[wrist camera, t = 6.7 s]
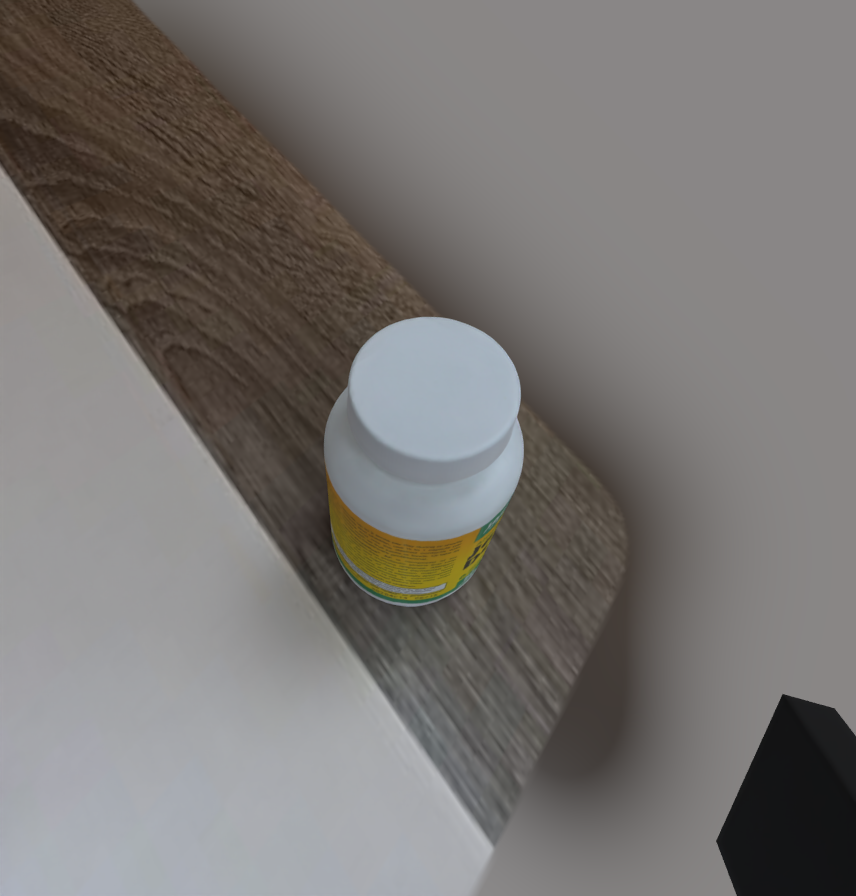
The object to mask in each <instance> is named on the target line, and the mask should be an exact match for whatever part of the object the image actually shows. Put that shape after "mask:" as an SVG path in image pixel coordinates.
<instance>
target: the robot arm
mask: <svg viewBox="0 0 856 896" xmlns="http://www.w3.org/2000/svg"><path fill="white" fill-rule="evenodd" d="M716 842H717V844H718V847H719V850H720V852H721V855H722V857H723V860H724V863H725V865H726V868H727V870H728V873H729V876H730V879H731V881H732V883H733V887H734V889H735V892H736V894H737V896H856V736H855V735H854V733H853V732H852V731H851V729H850V728H849V727H848V725H847V724H846V723H845V721H844V720H843V719H842V718H841V716H840V715H839V714H838V712H837V711H836V710H835V709H834V708H831V707H827V706H824V705H820V704H816V703H813V702H809V701H805V700H802V699H799V698H795V697H791V696H788V695H784V694H783V695H782V697H781V699H780V701H779V704H778V706H777V708H776V710H775V712H774V715H773V717H772V719H771V721H770V724H769V726H768V728H767V730H766V732H765V734H764V737H763V739H762V741H761V743H760V745H759V748H758V750H757V752H756V754H755V756H754V759H753V761H752V763H751V765H750V768H749V770H748V772H747V774H746V776H745V779H744V781H743V783H742V785H741V787H740V790H739V792H738V794H737V797H736V798H735V801H734V803H733V805H732V808H731V810H730V812H729V814H728V816H727V818H726V821H725V823H724V825H723V827H722V829H721V832H720V834H719V836H718V838H717V840H716Z"/></svg>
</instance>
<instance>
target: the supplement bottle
mask: <svg viewBox="0 0 856 896" xmlns="http://www.w3.org/2000/svg"><path fill="white" fill-rule="evenodd" d="M520 398H521V391H520V381H519V378H518V375H517V371H516V369H515V367H514V365H513V363H512V361H511V359H510V358H509V357H508V355H507V354H506V352H505V351H504V349H503V348H502V347H501V346H500V345H499V344H498V343H497V342H496V341H495V340H494V339H492V338H491V337H490V336H488V335H487V334H485V333H484V332H482V331H480V330H478V329H476V328H475V327H473V326H470V325H468V324H465V323H462V322H459V321H456V320H451V319H447V318H440V317H419V318H412V319H407V320H403V321H400V322H397V323H394V324H391V325H389V326H387V327H385V328H384V329H382V330H380V331H379V332H377V333H376V334H374V335H373V336H372V337H371V338H370V339H369V340H368V341H367V342H366V343H365V344H364V345H363V346H362V348H361V349H360V350H359V352H358V354H357V355H356V357H355V359H354V361H353V363H352V367H351V370H350V374H349V380H348V387H347V388H346V389H345V390H344V391H343V392H342V394H341V395H340V396H339V398H338V399H337V401H336V403H335V405H334V407H333V409H332V411H331V413H330V415H329V418H328V421H327V425H326V429H325V436H324V458H325V468H326V477H327V487H328V497H329V509H330V519H331V531H332V539H333V545H334V549H335V552H336V555H337V557H338V560H339V562H340V564H341V565H342V567H343V569H344V571H345V572H346V573H347V575H348V576H349V577H350V579H351V580H352V581H353V582H354V583H355V584H356V585H357V586H358V587H359V588H360V589H362V590H363V591H364V592H366V593H367V594H369V595H370V596H372V597H374V598H376V599H378V600H381V601H383V602H386V603H389V604H393V605H399V606H407V607H414V606H422V605H426V604H430V603H433V602H436V601H439V600H441V599H443V598H445V597H447V596H449V595H451V594H452V593H454V592H455V591H457V590H458V589H459V588H461V587H462V586H463V585H464V584H465V583H466V582H467V581H468V580H469V579H470V578H471V576H472V575H473V574H474V572H475V571H476V569H477V567H478V565H479V563H480V561H481V559H482V557H483V555H484V552H485V550H486V548H487V546H488V544H489V542H490V540H491V538H492V536H493V534H494V532H495V530H496V528H497V525H498V523H499V521H500V520H501V518H502V516H503V513H504V511H505V509H506V507H507V505H508V503H509V501H510V499H511V497H512V495H513V493H514V491H515V488H516V486H517V484H518V481H519V477H520V474H521V470H522V465H523V456H524V445H523V437H522V432H521V428H520V425H519V422H518V419H517V415H518V411H519V406H520Z"/></svg>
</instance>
